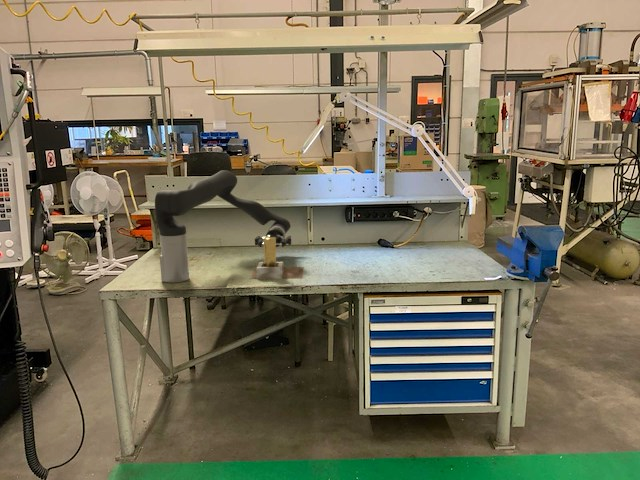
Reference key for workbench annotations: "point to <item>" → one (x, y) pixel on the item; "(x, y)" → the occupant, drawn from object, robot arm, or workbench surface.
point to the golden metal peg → (270, 252)
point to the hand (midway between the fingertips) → (271, 244)
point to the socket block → (277, 272)
